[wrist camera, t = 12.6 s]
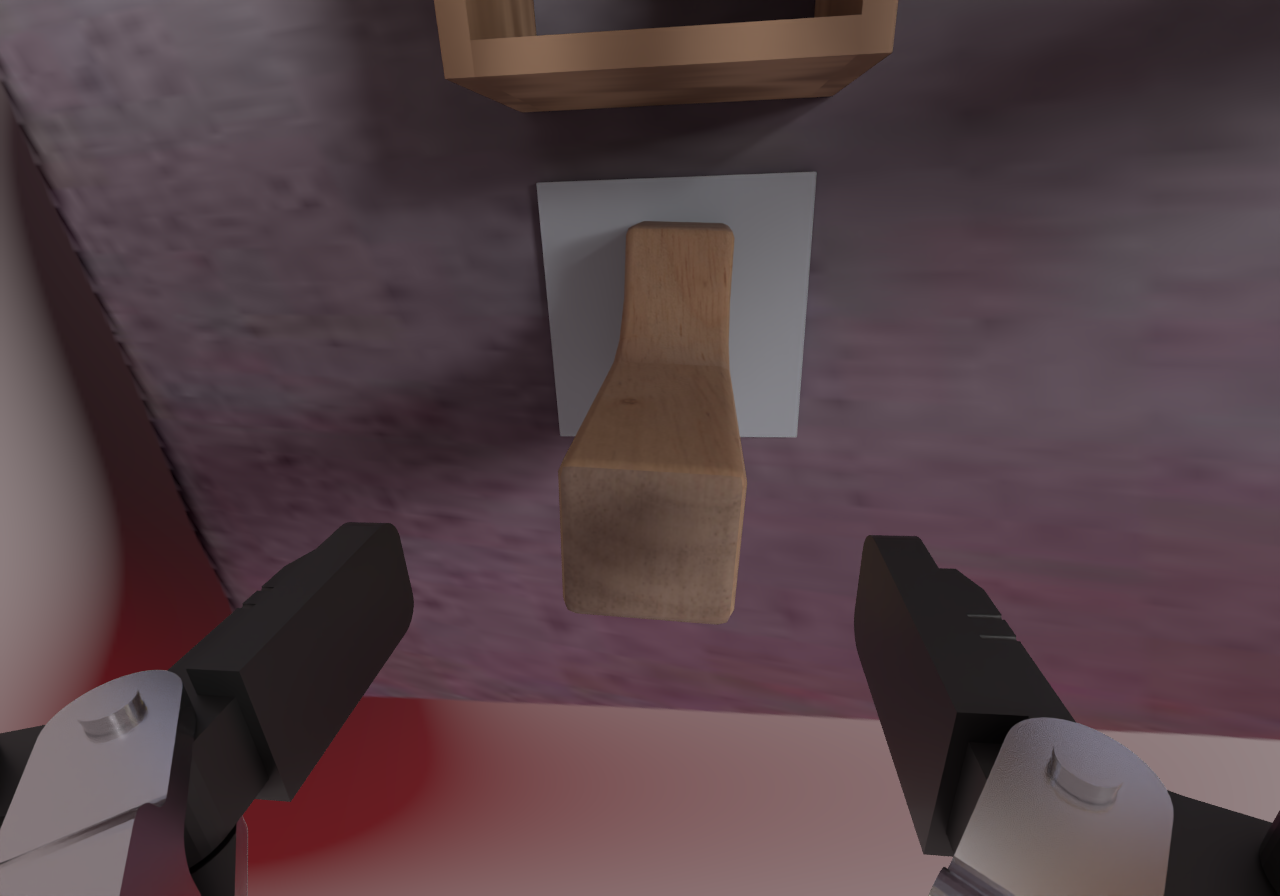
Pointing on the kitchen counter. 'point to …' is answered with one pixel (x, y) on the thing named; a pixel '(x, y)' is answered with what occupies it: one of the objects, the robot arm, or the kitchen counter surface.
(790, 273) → the grey mat
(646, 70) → the walnut sleeve
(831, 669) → the kitchen counter surface
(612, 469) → the wooden block
